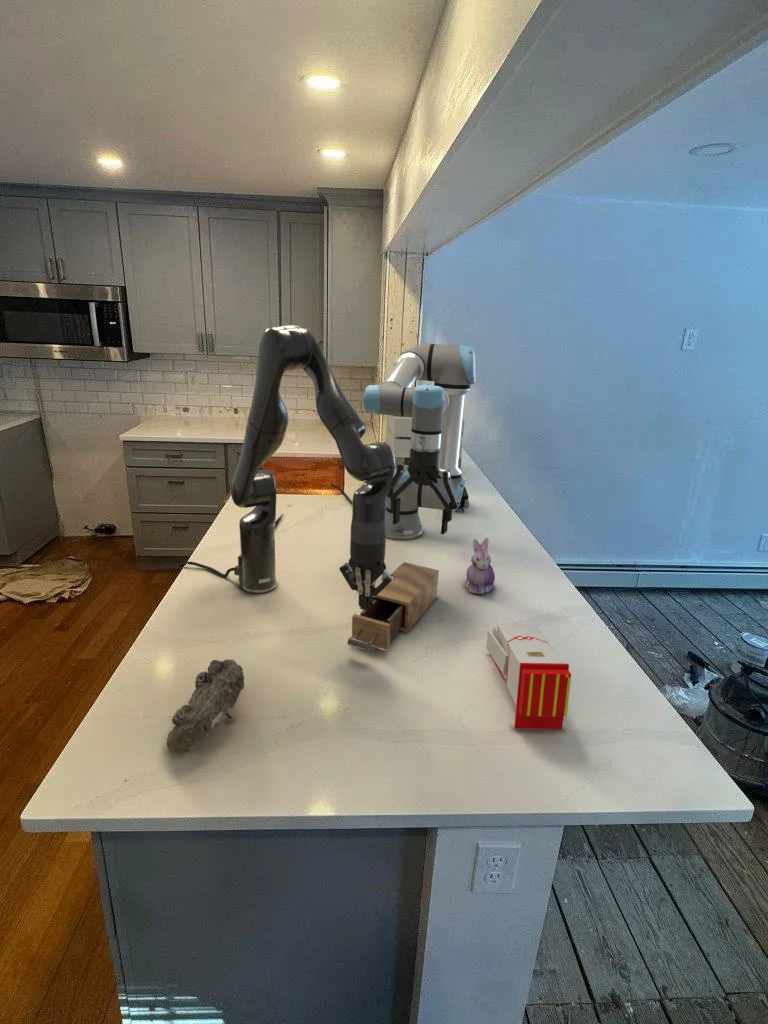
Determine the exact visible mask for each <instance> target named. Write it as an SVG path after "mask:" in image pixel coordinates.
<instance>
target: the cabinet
mask: <svg viewBox="0 0 768 1024" xmlns="http://www.w3.org/2000/svg"><path fill="white" fill-rule="evenodd" d="M439 573H440V571H439V569H436V568H431V567H427V566H422V565H419V564H415V563H409V562H405V561H404V562H402V563H401V564H400V565H399V566H398V567H397V568H396V569H395V570H394V571H392V573H391V574H393V575H394V576H395V578H394V579H393V580H392V581H391V582H390V583H389V584H388V585H387V586H386V587H385V588H384V589H383V590H382V591H381V592H380V593H379V594H378V595H377V596H374V595H373V600H374V599H375V598H379V599H383V600H387V601H390V602H394V603H398V604H402V605H405V606H406V608H405V624H404V625H403V626H402V627H401V629H400V630H399V631H401V632H404V633H408V632H409V631H410V630H411V629H412V627H413V626H414V625H415V623H417V621H418V620H419V619H420V617H421V616H422V615H423V614H424V612H425V611H426V610H427V609H428V608H429V607H430V605H431V604H432V603H433V602H434V600H435V599H436V598H437V597H438V586H439V585H438V584H439Z"/></svg>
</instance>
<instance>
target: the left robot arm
mask: <svg viewBox="0 0 768 1024" xmlns="http://www.w3.org/2000/svg"><path fill="white" fill-rule="evenodd" d="M300 369H302V370H303V371H304V372H305V373H306V374H307V376H308V377H309V378H310V379H311V381H312V383H313V386H314V395H315V408H316V412H317V415H318V417H319V419H320V421H321V422H322V424H323V426H324V427H325V428H326V430H327V431H328V432H329V434H330V435H331V437H332V438H333V440H334V441H335V443H336V447H337V450H338V452H339V455H340V458H341V462H342V463H343V466H344V468H345V470H346V472H347V473H348V475H350V477H352V478H353V479H354V480H356V481H358V482H363V484H362V485H361V486H360V487H358V488H357V489H356V490H355V491H354V492H353V495H352V502H353V505H352V504H351V505H352V506H351V507H352V509H351V512H352V513H351V523H350V537H349V538H350V542H349V558H348V562H345V563H343V564H342V565H341V566H340V567H339V571H340V573H341V574H342V576H343V578H344V579H345V581H346V583H347V584H348V586H349V587H350V589H351V590H352V591H355V592H357V593H358V607H360V610H362V611H363V610H366V611H367V610H368V609H369V608H370V607H371V606H372V605H373V595H374V596H377V595H378V594H379V593H380V592H381V591H382V590H383V589H384V588H385V587H386V586H387V585H388V584H389V583H390V582H391V581H392V580H393V579H394V578H395V576H394V575H393V574H392V573H390V572H388V570H387V565H386V563H385V559H386V542H387V537H386V498H387V495H388V492H389V489H390V486H391V482H392V479H393V475H394V471H395V456H394V453H393V450H392V449H391V447H390V446H389V445H388V444H386V443H384V442H383V441H376V442H372V443H368V444H364V443H363V442H362V438H363V436H364V435H365V433H366V431H367V427H366V424H365V422H364V420H363V419H362V417H361V416H360V414H359V413H358V411H356V409H355V408H354V406H353V405H352V403H351V402H350V401H349V399H348V398H347V396H346V395H345V394H344V392H343V390H342V388H341V387H340V384H339V383H338V380H337V379H336V377H335V375H334V373H333V371H332V369H331V367H330V364H329V363H328V361H327V359H326V356H325V355H324V353H323V350H322V348H321V347H320V344H319V343H318V341H317V339H316V337H315V336H314V334H313V332H311V330H310V329H309V328H307V327H306V326H305V325H303V324H289V325H279V326H272V327H268V328H267V329H265V331H263V333H262V335H261V338H260V341H259V346H258V354H257V363H256V372H255V373H256V374H255V382H254V389H253V394H252V400H251V404H250V408H249V412H248V417H247V421H246V426H245V432H244V438H243V442H242V447H241V450H240V455H239V457H238V461H237V464H236V466H235V470H234V472H233V475H232V479H231V485H230V495H231V500H232V502H233V503H234V505H235V506H237V507H238V508H241V509H242V508H243V509H247V508H253V509H252V510H251V511H249V512H248V513H246V514H245V515H243V516H242V517H241V518H240V520H239V522H238V523H239V524H238V525H239V543H240V554H239V555H238V556H237V565H236V566H234V567H230V568H228V569H227V570H226V572H225V573H222V572H221V571H219V570H216V569H215V568H213V567H211V566H208V565H205V564H201V563H199V562H196V561H185V562H184V561H183V562H181V563H180V564H179V565H178V568H183V567H184V566H186V564H187V563H188V564H187V566H189V565H192V566H196V567H199V568H201V569H205V570H208V571H211V572H212V573H214V574H216V575H218V576H219V577H221V578H227V577H228V576H229V574H230V572H233V574H234V576H238V584H239V586H238V588H239V589H242V590H243V591H245V592H247V593H251V594H264V593H268V592H270V591H273V590H274V589H275V588H276V587H277V577H276V576H277V574H276V573H277V569H276V566H277V565H276V537H275V536H276V534H275V533H276V532H275V529H276V528H275V524H276V523H275V522H276V521H277V520H276V519H277V498H278V497H277V494H278V493H277V491H278V489H277V482H276V479H275V476H274V474H273V473H272V472H271V470H268V469H261V467H262V466H263V465H264V464H265V463H266V462H267V461H268V460H269V459H270V458H271V457H272V456H273V455H274V454H275V453H276V452H277V451H278V450H279V448H281V446H282V444H283V442H284V439H285V436H286V432H287V429H288V424H289V412H288V410H287V407H286V404H285V402H284V400H283V398H282V395H281V393H280V388H281V383H282V378H283V376H284V374H285V372H287V371H295V370H300ZM380 577H381V578H380ZM379 578H380V580H381V583H380V584H379V585H377V586H376V584H377V581H378V579H379Z"/></svg>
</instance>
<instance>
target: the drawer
mask: <svg viewBox="0 0 768 1024" xmlns="http://www.w3.org/2000/svg"><path fill="white" fill-rule="evenodd" d="M405 608H406V606H405V605H402V604H398V603H394V602H390V601H387V600H383V599H379V598H375V599H374V600H373V605H372V606H371V607H370V608H369V609H368V610H367V611H366V610H362V611H360V614H357V613H354V614H353V615H352V616H351V617H352V619H351V620H352V621H351V636H349V637H348V639H347V645H348V646H352V647H355V648H359V649H362V650H364V651H368V652H369V651H370V650H371V648H372V646H373V647H376V648H380V649H383V650H386V651H387V650H389V649H390V642H391V640H393V638H394V637H395V636H396V635H397V633H398V632H399V631H400V629H401V627H402V626H403V625H404V624H405Z"/></svg>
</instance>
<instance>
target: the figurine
mask: <svg viewBox="0 0 768 1024" xmlns="http://www.w3.org/2000/svg"><path fill="white" fill-rule="evenodd" d="M472 544H473V553H472V555H471V559H470V561H471V565H470V566H469V567H468V568H467V570H466V579H465V587H466V589H467V590H468V592H469V593H472V594H476V595H477V594H478V595H483V594H485V593H489V592H490V591H491V590H492V589H493V588H494V587H493V586H494V584H495V579H496V577H495V576H496V575H495V570H494V568H493V566H492V565H491V562H492V559H491V555H490V553H489V550H488V547H489V538H488V537H485V538H484V539H483V541H482V543H481V544H480V543H479V540H478V539H477V538H473V540H472Z"/></svg>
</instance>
